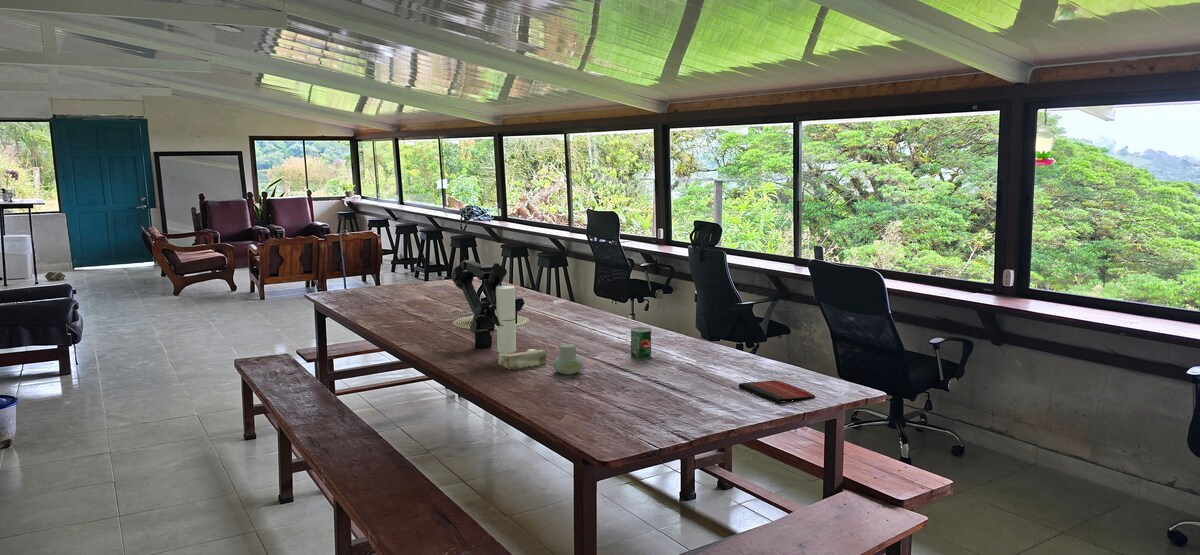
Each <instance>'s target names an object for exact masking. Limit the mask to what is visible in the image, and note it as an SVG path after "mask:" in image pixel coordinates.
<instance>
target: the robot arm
mask: <svg viewBox="0 0 1200 555" xmlns="http://www.w3.org/2000/svg"><path fill="white" fill-rule="evenodd" d="M507 274H508V270H507V269H506V268H505V267H504V266H503V265H501V264H500V263H499V262H497V263H496V262H495V263H493V264H485V265H484V264H481V263H479V262H476V261H475V260H473V259H469V260H468V259H466V260H462V261H460V263H459V265H457V266H456V267H455V268H454V269H453V271H452V273H451V280H452V282H453V283H454V285H455V287H456V288H458V289H460V290H461V291H462V292H463V295H464V297H465V299H466V301H467V303H468V306H469V308H470V310H471V312H472V314H473V316H472V322H471V324H470V326H469V330H470V332H471V333H472V334H474V348H475V349H484V348H485V347H490V348H492V345H493V338H492V337H493V336H492V334H491V333H492V332H495V327H497V326H499V325H500V324H499V321H498V319H497V313H496V311H497V308H496V287H498V286H501V285H502V283H503V281H504V280H505V277H506V276H507ZM474 277H476V278H477V279H478V280H479V281H484V283H483V287H482V290H483V291H486V293H487V296H488V297H487V301H483V302H482V301H481V299H480V297H479V295H478V293H477V291H476V289H475V287H474V284H473V281H474ZM524 305H525V299H524V298H522V297H518V298H517V297H515V325H517V324H518V312H520V311H521V310H522V309H523V307H524ZM485 349H486V348H485Z"/></svg>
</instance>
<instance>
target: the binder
mask: <svg viewBox="0 0 1200 555" xmlns="http://www.w3.org/2000/svg"><path fill="white" fill-rule="evenodd" d="M739 388H741V389H740V390H742V389H744V390H746V391H745V392H747V391H748V392H747V393H749V392H750V393H749V394H752V393H753V394H752V395H754V394H755V396H756V395H757V397H759V396H760V397H759V398H761V397H762V398H761V399H764V398H765V399H764V400H766V399H767V400H766V401H769V400H770V401H769V402H771V401H772V402H771V403H773V402H775V403H774V404H776V403H777V404H776V405H778V404H779V405H780V402H779V401H787V402H791V401H792V400H793V401H792V402H791V403H796V402H801V401H806V400H812V399H815V398H816V395H815V394H813V393H811V392H809V391H807V390H805V389H802V388H800V387H797V386H794V385H791V384H789V383H786V382H784V381H780V380H765V381H751V382H741V383H739V384H738V389H739ZM744 390H743V391H744Z"/></svg>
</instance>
